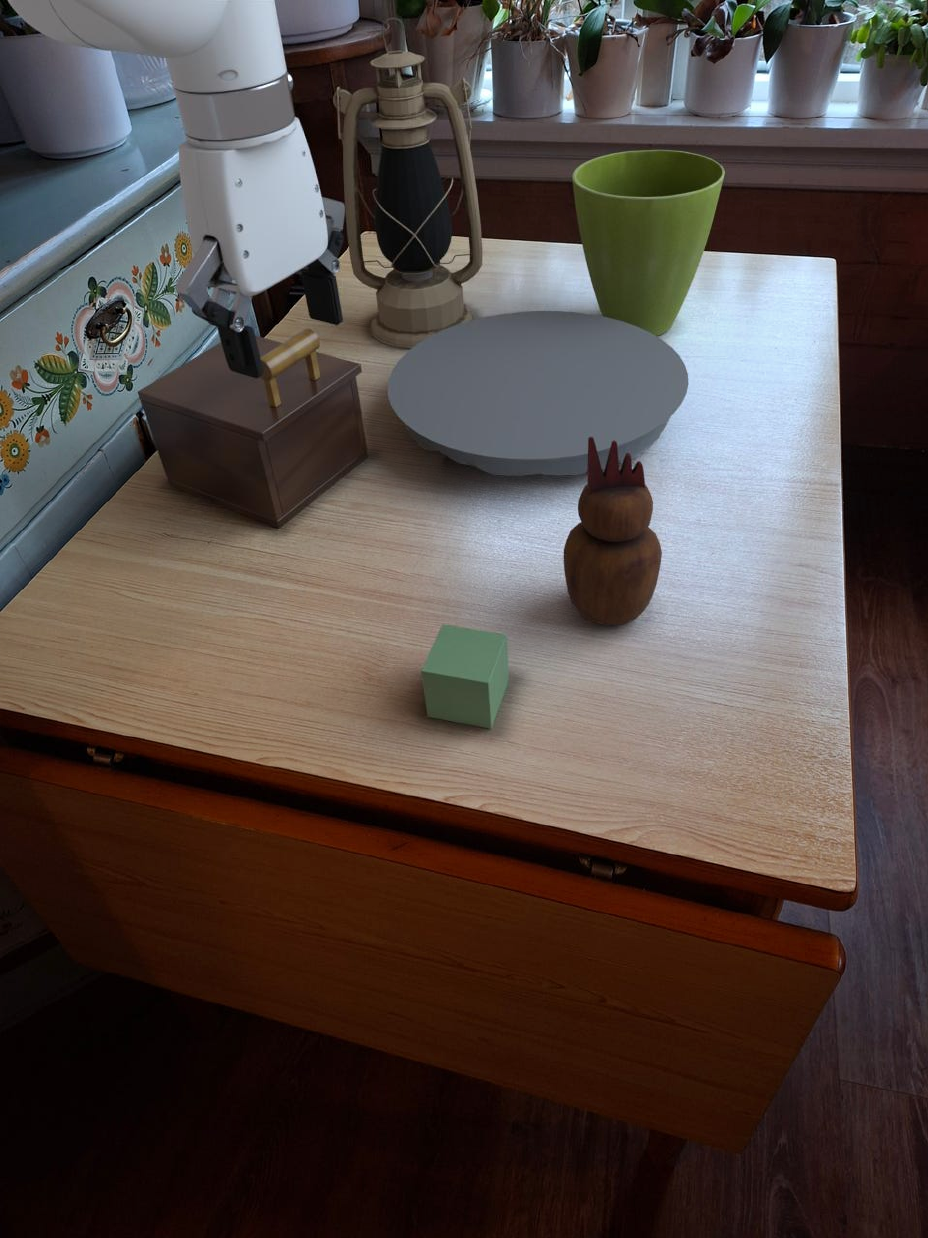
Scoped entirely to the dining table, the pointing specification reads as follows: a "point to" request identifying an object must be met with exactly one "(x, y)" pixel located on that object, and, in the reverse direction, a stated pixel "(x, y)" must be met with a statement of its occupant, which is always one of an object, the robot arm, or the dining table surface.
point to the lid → (253, 386)
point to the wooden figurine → (612, 543)
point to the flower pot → (645, 230)
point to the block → (466, 676)
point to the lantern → (410, 202)
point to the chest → (262, 457)
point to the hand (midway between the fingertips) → (288, 345)
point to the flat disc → (537, 391)
